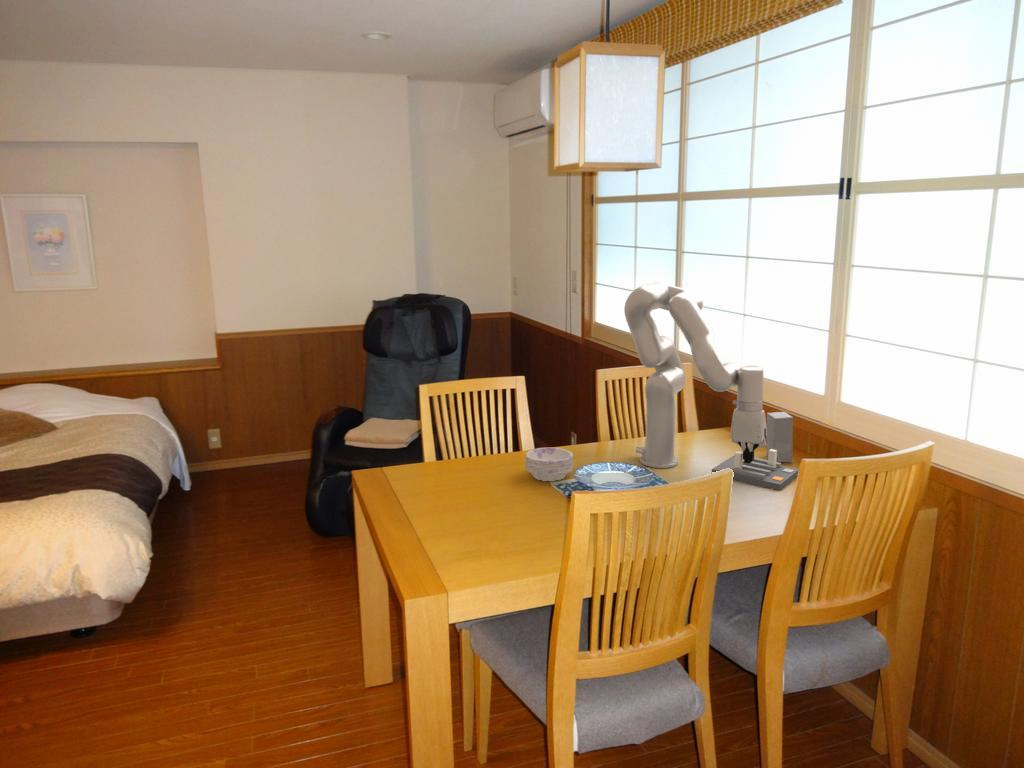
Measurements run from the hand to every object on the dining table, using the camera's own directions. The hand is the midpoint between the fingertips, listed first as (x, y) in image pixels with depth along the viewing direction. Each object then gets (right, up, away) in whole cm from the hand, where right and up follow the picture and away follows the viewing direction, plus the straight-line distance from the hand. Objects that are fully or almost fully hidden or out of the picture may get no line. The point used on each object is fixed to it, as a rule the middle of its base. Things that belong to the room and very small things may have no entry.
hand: (748, 462), depth 233 cm
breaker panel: (+3, -5, +4) cm, 7 cm away
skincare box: (+16, -1, +19) cm, 25 cm away
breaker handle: (+9, -2, +5) cm, 10 cm away
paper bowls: (-63, -5, +4) cm, 63 cm away
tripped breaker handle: (-2, -3, +3) cm, 4 cm away
